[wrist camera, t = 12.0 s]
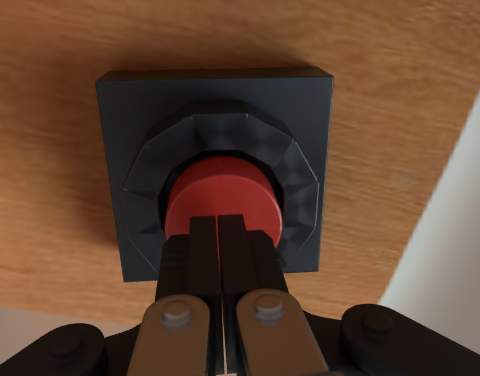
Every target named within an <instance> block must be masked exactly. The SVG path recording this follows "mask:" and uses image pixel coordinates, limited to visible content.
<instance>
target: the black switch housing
mask: <svg viewBox="0 0 480 376" xmlns="http://www.w3.org/2000/svg"><path fill="white" fill-rule="evenodd" d="M333 80H334V76H332V75H331V74H329V73H327V72H325V71H324V70H322V69H320V68H318V67H292V68H243V69H194V70H145V71H109V72H107V73H106V74H105V75H103V76H102V77H101V78H99V79H98V80H97V81H96V82H95V84H96V91H97V98H98V105H99V112H100V119H101V126H102V133H103V140H104V147H105V154H106V161H107V168H108V175H109V182H110V189H111V196H112V203H113V210H114V217H115V224H116V231H117V238H118V245H119V252H120V259H121V266H122V273H123V280H124V282H139V281H157V280H158V275H159V269H160V262H161V255H162V248H163V244H164V243H165V242H166V241H167V239H166V234H165V220H166V213H167V207H168V201H169V195H170V192H171V188H172V186H173V184H174V182H175V181H176V179H177V178H178V176H179V175H180V174H181V173H182V172H183V171H184V170H185V169H186V168H187V167H189V166H190V165H192V164H193V163H195V162H197V161H199V160H202V159H205V158H208V157H213V156H232V157H237V158H241V159H243V160H246V161H248V162H250V163H251V164H253V165H255V166H256V167H257V168H258V169H260V170H261V171H262V172H263V173H264V175H265V176H266V177H267V179H268V180H269V182H270V184H271V187H272V189H273V192H274V195H275V197H276V200H277V202H278V205H279V208H280V211H281V215H282V233H281V237H280V240H279V242H278V245H277V246H276V248H275V249H276V252H277V256H278V260H279V262H280V265H281V269H282V272H283V273H299V272H317V271H318V269H319V257H320V244H321V232H322V219H323V206H324V194H325V181H326V169H327V156H328V143H329V131H330V118H331V105H332V93H333Z"/></svg>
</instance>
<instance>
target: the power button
mask: <svg viewBox="0 0 480 376" xmlns="http://www.w3.org/2000/svg"><path fill="white" fill-rule="evenodd" d="M229 214H243V217H244V222H245V227H246V231H247V230H263V231H264V232H265V233H266V234H268V235H269V236H270V237H271V238H272V239H273V243H274V246H275V248H276V246H277V245H278V242H279V240H280V237H281V233H282V215H281V211H280V208H279V205H278V202H277V200H276V197H275V195H274V192H273V189H272V187H271V184H270V182H269V180H268V179H267V177H266V176H265V175H264V173H263V172H262V171H261V170H260V169H258V168H257V167H256V166H255V165H253V164H251V163H250V162H248V161H246V160H243V159H241V158H237V157H232V156H213V157H208V158H205V159H202V160H199V161H197V162H195V163H193V164H192V165H190V166H189V167H187V168H186V169H185V170H184V171H183V172H182V173H181V174H180V175H179V176H178V178H177V179H176V181H175V182H174V184H173V186H172V188H171V192H170V195H169V201H168V207H167V213H166V220H165V234H166V239H167V240H168V239H169V238H170V236H171V235H178V234H189V229H190V217H193V216H212V215H215V217H216V230H217V243H218V256H219V242H218V215H229ZM219 270H220V266H219Z"/></svg>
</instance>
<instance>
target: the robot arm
mask: <svg viewBox="0 0 480 376" xmlns="http://www.w3.org/2000/svg"><path fill="white" fill-rule="evenodd" d="M218 242H219V256H218V243H217V230H216V217H215V215H212V216H193V217H190V229H189V234H178V235H171V236H170V238H169V239H168V240H167V241H166V242H165V243H164V244H163V248H162V255H161V262H160V269H159V275H158V282H157V289H156V296H155V302H154V303H153V304H151V305H150V306H149V307H148V308H147V310H146V311H145V313H144V316H143V319H142V323H140V324H139V325H137V326H136V327H134V328H132V329H130V330H127V331H124V332H122V333H118V334H115V335H112V336H109V337H106V338H104V336H103V334H102V332H101V331H100V330H99V329H98V328H97V327H95V326H93V325H89V324H83V323H75V324H68V325H65V326H61V327H58V328H56V329H54V330H52V331H50V332H48V333H46V334H45V335H43V336H42V337H40V338H39V339H37V340H36V341H34V342H33V343H31V344H30V345H29V346H27V347H26V348H24V349H23V350H21V351H20V352H18V353H17V354H15V355H14V356H13V357H11V358H9V359H8V360H7V361H5V362H4V363H2V364H1V365H0V376H216V375H220V374H224V352H223V351H224V350H223V324H222V310H223V323H224V336H225V349H226V362H227V374H229V373H237V376H480V355H479V354H477V353H475V352H473V351H471V350H470V349H468V348H466V347H464V346H462V345H460V344H458V343H456V342H454V341H452V340H450V339H448V338H446V337H444V336H442V335H441V334H439V333H437V332H435V331H433V330H431V329H429V328H427V327H425V326H423V325H421V324H420V323H417V322H416V321H414V320H412V319H410V318H408V317H406V316H404V315H402V314H400V313H398V312H396V311H394V310H392V309H390V308H388V307H384V306H381V305H376V304H360V305H356V306H353V307H351V308H349V309H348V310H346V311H345V312H344V314H343V316H342V319H341V320H336V319H330V318H324V317H319V316H316V315H312V314H310V313H308V312H306V311H304V310H302V308H301V306H300V304H299V302H298V301H297V300H296V299H295V298H294V297H293V296H292V295H290V294H289V291H288V288H287V285H286V282H285V278H284V275H283V272H282V269H281V265H280V262H279V260H278V256H277V252H276V249H275V246H274V243H273V239H272V238H271V237H270V236H269V235H268V234H266V233H265V232H264V231H263V230H247V231H246V227H245V222H244V217H243V214H229V215H218ZM219 266H220V270H219ZM221 297H222V299H221Z"/></svg>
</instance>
